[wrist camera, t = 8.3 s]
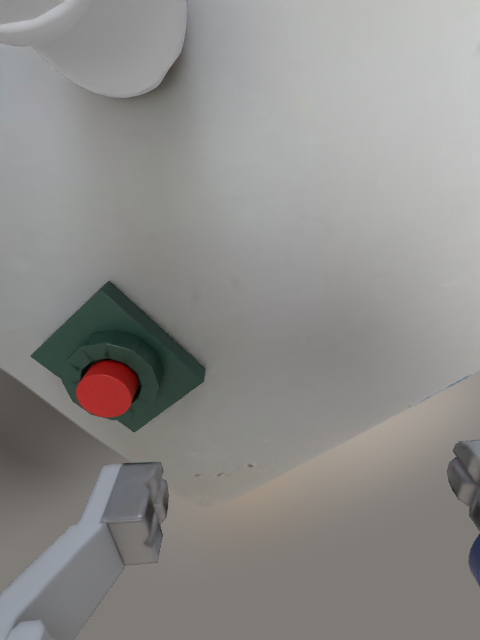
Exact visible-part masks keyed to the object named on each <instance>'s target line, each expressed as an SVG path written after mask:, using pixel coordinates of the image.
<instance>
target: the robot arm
mask: <svg viewBox="0 0 480 640" xmlns="http://www.w3.org/2000/svg"><path fill="white" fill-rule="evenodd" d="M453 452H454V453H455V455H456V456H457V457H455V458H454V459H453V460H452V461H451V462H449V466H448V470H447V474H448V480H449V483H450V486H451V488H452V490H453V492H454V493H455V495H456V496H457V498H458V499H459V500H460V501H461V502H463V503H464V504H466V505H467V506H469V507H470V510H469V516H470V518H471V519H472V521H473V522H474V524H475V525H476V527H477V528H478V530H479V531H480V440H471V441H460V442H458V443H457V444H456V445H455V447H454V449H453ZM163 471H164V470H163V467H162V464H161V462H145V463H122V464H106V465H105V466H104V467H103V468H102V470H101V471H100V473H99V476H98V478H97V480H96V483H95V485H94V487H93V490H92V492H91V494H90V497H89V499H88V501H87V504H86V506H85V508H84V511H83V513H82V515H81V518H80V520H79V522H78V524H75V525H71V526H70V527H69V528H68V529H67V530H66V531H65V532H64V533H63V534H62V535H61V536H60V537H59V538H58V539H57V540H56V541H55V542H53V543H52V544H51V545H50V546H49V547H48V548H47V549H46V550H45V551H44V552H43V553H42V554H41V555H40V556H39V557H38V558H37V559H36V560H35V561H34V562H32V563H31V564H30V565H29V566H28V567H27V568H26V569H25V570H24V571H23V572H22V573H21V574H20V575H19V576H18V577H17V578H16V579H15V580H14V581H13V582H12V583H11V584H9V585H8V586H7V587H6V588H5V589H4V590H3V591H2V592H1V593H0V640H74V639H75V638H76V636H77V635H78V634H79V632H80V631H81V629H82V628H83V627H84V625H85V624H86V622H87V621H88V620H89V618H90V617H91V615H92V614H93V612H94V611H95V610H96V608H97V607H98V605H99V604H100V603H101V601H102V600H103V598H104V597H105V595H106V594H107V592H108V591H109V590H110V588H111V587H112V585H113V584H114V583H115V581H116V580H117V578H118V577H119V575H120V574H121V573H122V571H123V570H124V568H125V567H124V566H127V565H138V564H148V563H157V562H158V558H159V553H160V548H161V542H162V537H163V534H162V530H161V527H160V525H161V523H162V522H163V521H164V520H165V518H166V515H167V509H168V497H169V494H168V486H167V481H166V480H164V479H163V478H162V475H163Z"/></svg>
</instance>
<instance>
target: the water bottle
mask: <svg viewBox="0 0 480 640" xmlns="http://www.w3.org/2000/svg"><path fill="white" fill-rule="evenodd" d="M186 25H187V0H0V43H3V44H8V45H13V46H32V47H33V48H34V49H35V50H36V52H37V53H38V54H39V55H40V56H41V57H42V58H43V59H44V60H45V61H46V62H47V63H48V64H49V65H50V66H51V67H53V68H54V69H55V70H56V71H57V72H59V73H60V74H61V75H63V76H64V77H66V78H67V79H69V80H70V81H72V82H74V83H75V84H77V85H79V86H82V87H83V88H85V89H87V90H90V91H92V92H94V93H97V94H100V95H104V96H108V97H114V98H129V97H134V96H139V95H142V94H145V93H147V92H149V91H152V90H153V89H155V88H156V87H158V86H159V84H160V83H161V82H162V80H163V78H164V77H165V75H166V73H167V72H168V70H169V69H170V67H171V66H172V64H173V63H174V62H175V61H176V59H177V58H178V56H179V55H180V53H181V51H182V47H183V43H184V38H185V33H186Z"/></svg>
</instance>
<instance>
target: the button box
mask: <svg viewBox="0 0 480 640" xmlns="http://www.w3.org/2000/svg"><path fill="white" fill-rule="evenodd" d="M31 357H32V358H33V359H35V360H36V361H37V362H39V363H40V364H42V365H43V366H44V367H46V368H47V369H48V370H50V371H51V372H52V373H54V374H55V375H57V376H58V377H59V378H61V379H62V381H63V384H64V386H65V388H66V390H67V392H68V393H69V395H70V397H71V399H72V400H73V402H75V403H76V404H77V405H79V406H80V407H81V408H83V407H82V406H81V405H80V403H79V401H78V399H77V396H76V388H77V386H78V384H79V382H80V381H81V379H82V378H83V377H84V375H85V374H86V372H87V371H88V369H89V368H90V367H91V366H92V365H93V364H94V363H96V362H99V361H102V360H115V361H119V362H121V363H124V364H125V365H127V366H128V367H130V368H131V369H132V370H133V371H134V373H135V374H136V376H137V379H138V389H137V391H136V394H135V396H134V398H133V401H132V403H131V405H130V407H129V409H128V410H127V411H126V412H125V413H123V414H122V415H119V416H116V417H103V418H107V419H111V420H118V421H119V422H121V423H122V424H123V425H125V426H126V427H127V428H129V429H130V430H132V431H133V432H135V431H137V430H138V429H140V428H141V427H142V426H144V425H145V424H146V423H148V422H149V421H150V420H152V419H153V418H155V417H156V416H157V415H159V414H160V413H161V412H163V411H164V410H166V409H167V408H168V407H170V406H171V405H172V404H174V403H175V402H176V401H178V400H179V399H181V398H182V397H183V396H185V395H186V394H187V393H189V392H190V391H191V390H193V389H194V388H196V387H197V386H198V385H200V384H201V383H202V382H203V381H204V375H205V368H204V367H203V366H201V365H200V364H199V363H198V362H197V361H196V360H195V359H194V358H193V357H192V356H190V355H189V354H188V353H187V352H186V351H185V350H184V349H183V348H182V347H181V346H180V345H178V344H177V343H176V342H175V341H174V340H173V339H172V338H171V337H170V336H169V335H167V334H166V333H165V332H164V331H163V330H162V329H161V328H160V327H159V326H158V325H157V324H155V323H154V322H153V321H152V320H151V319H150V318H149V317H148V316H147V315H146V314H144V313H143V312H142V311H141V310H140V309H139V308H138V307H137V306H136V305H135V304H134V303H132V302H131V301H130V300H129V299H128V298H127V297H126V296H125V295H124V294H123V293H121V292H120V291H119V290H118V289H117V288H116V287H115V286H114V285H113V284H112V283H111V282H109V281H108V282H107V283H106V284H105V285H104V286H103V287H102V288H101V289H100V290H99V291H98V292H97V293H96V294H94V295H93V296H92V297H91V298H90V299H89V300H88V301H87V302H86V303H85V304H84V305H83V306H82V307H81V308H80V309H79V310H78V311H77V312H76V313H75V314H74V315H73V316H71V317H70V318H69V319H68V320H67V321H66V322H65V323H64V324H63V325H62V326H61V327H60V328H59V329H58V330H57V331H56V332H55V333H54V334H53V335H52V336H51V337H50V338H48V339H47V340H46V341H45V342H44V343H43V344H42V345H41V346H40V347H39V348H38V349H37V350H36V351H35V352H34V353H33V354H32V355H31ZM83 409H84V408H83ZM84 410H85V409H84ZM86 411H87V410H86ZM87 412H88V411H87ZM88 413H90V412H88ZM90 414H92V413H90ZM92 415H94V414H92ZM95 416H96V415H95ZM99 417H100V416H99Z"/></svg>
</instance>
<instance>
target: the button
mask: <svg viewBox="0 0 480 640" xmlns="http://www.w3.org/2000/svg"><path fill="white" fill-rule="evenodd" d="M137 389H138V379H137V376H136V374H135V373H134V371H133V370H132V369H131V368H130V367H128V366H127V365H125V364H124V363H121V362H119V361H115V360H102V361H99V362H96V363H94V364H93V365H92V366H91V367H90V368H89V369H88V371H87V372H86V374H85V375H84V377H83V378H82V379H81V381H80V382H79V384H78V386H77V388H76V396H77V399H78V401H79V403H80V405H81V406H82V407H83V408H84V409H85V410H87V411H88V412H90V413H92V414H94V415H96V416H100V417H116V416H119V415H122V414H123V413H125V412H126V411H127V410H128V409H129V407H130V405H131V403H132V401H133V398H134V396H135V394H136V391H137Z"/></svg>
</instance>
